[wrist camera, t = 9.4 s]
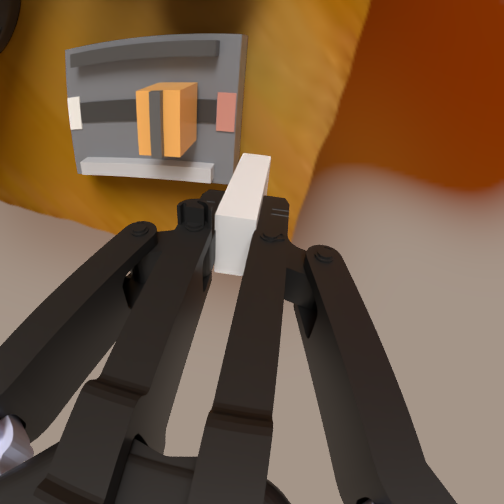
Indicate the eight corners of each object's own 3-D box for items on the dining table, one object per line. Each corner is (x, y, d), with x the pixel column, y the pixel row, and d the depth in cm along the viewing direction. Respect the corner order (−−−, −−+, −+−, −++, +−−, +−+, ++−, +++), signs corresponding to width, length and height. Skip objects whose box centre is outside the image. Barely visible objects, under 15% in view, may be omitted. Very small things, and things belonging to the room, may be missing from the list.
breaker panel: (93, 161, 37) (70, 179, 33) (84, 46, 27) (56, 51, 23) (238, 170, 36) (229, 191, 32) (248, 35, 26) (239, 33, 22)
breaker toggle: (159, 138, 30) (136, 157, 26) (158, 82, 26) (132, 92, 22) (196, 139, 30) (178, 159, 25) (197, 82, 26) (177, 91, 22)
